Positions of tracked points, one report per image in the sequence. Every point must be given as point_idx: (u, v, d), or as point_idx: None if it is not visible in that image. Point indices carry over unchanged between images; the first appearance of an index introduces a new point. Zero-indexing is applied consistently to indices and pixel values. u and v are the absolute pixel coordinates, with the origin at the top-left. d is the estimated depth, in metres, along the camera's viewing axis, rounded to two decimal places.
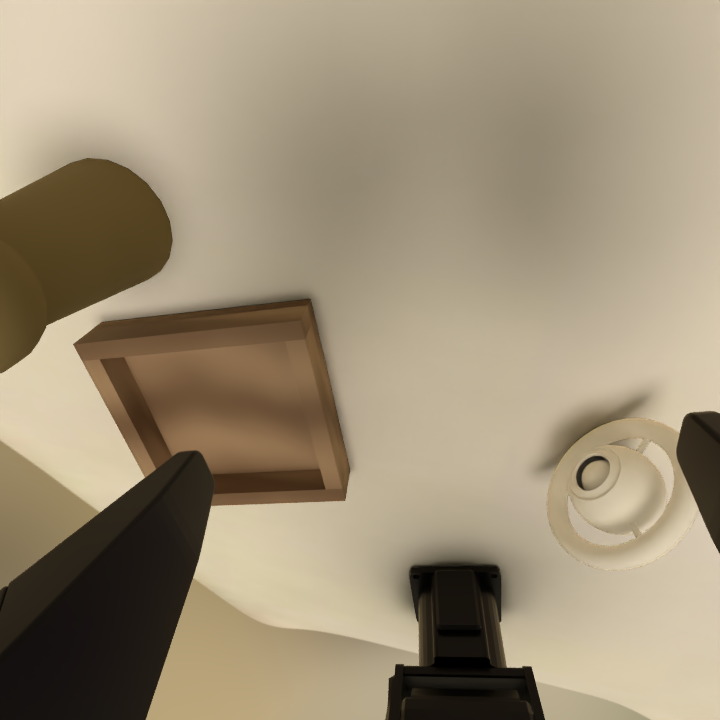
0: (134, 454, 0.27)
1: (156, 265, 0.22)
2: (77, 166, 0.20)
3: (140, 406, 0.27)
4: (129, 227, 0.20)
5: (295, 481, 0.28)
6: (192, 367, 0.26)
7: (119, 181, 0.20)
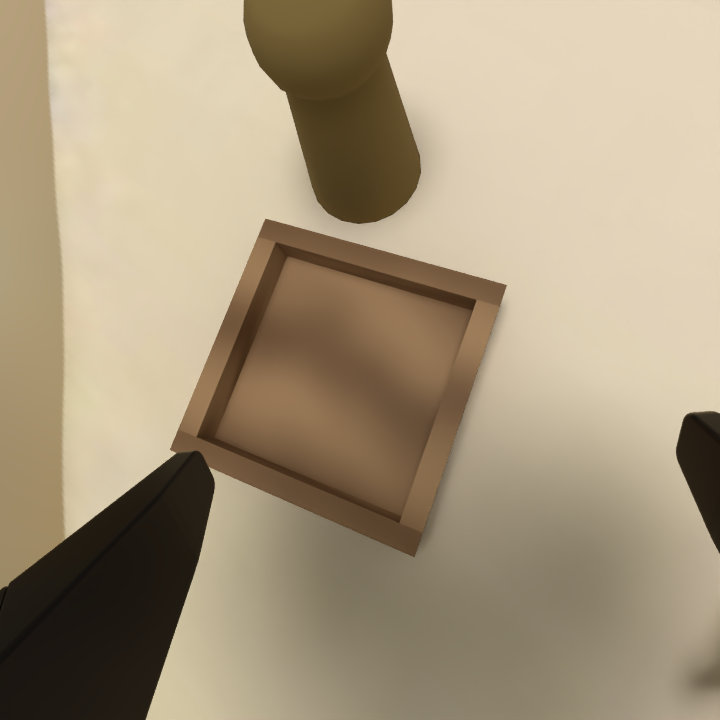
0: (209, 360, 0.22)
1: (385, 205, 0.23)
2: None
3: (255, 322, 0.23)
4: (408, 146, 0.22)
5: (357, 501, 0.20)
6: (339, 310, 0.23)
7: None
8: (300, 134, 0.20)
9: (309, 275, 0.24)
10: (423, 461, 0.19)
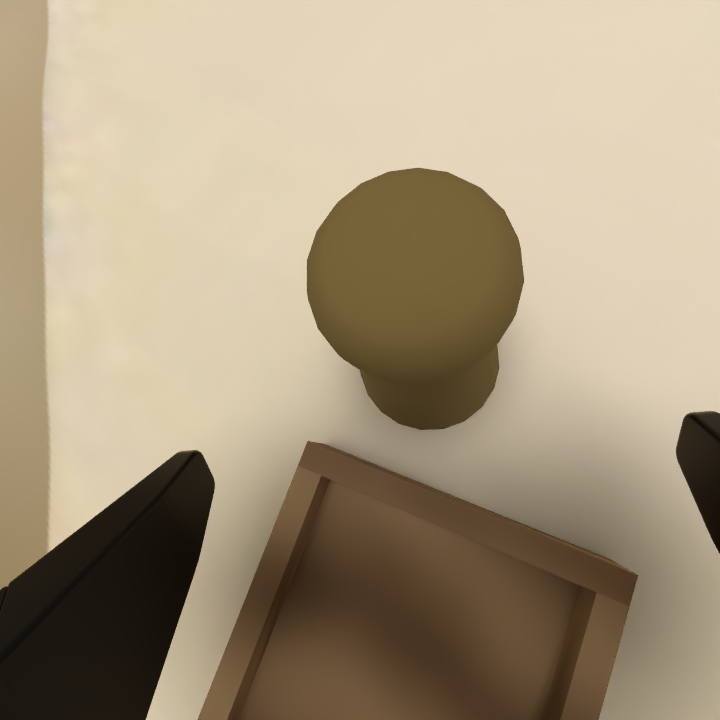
0: (233, 637, 0.17)
1: (458, 418, 0.19)
2: None
3: (292, 570, 0.18)
4: (494, 361, 0.17)
5: None
6: (400, 559, 0.18)
7: None
8: None
9: (360, 504, 0.19)
10: None
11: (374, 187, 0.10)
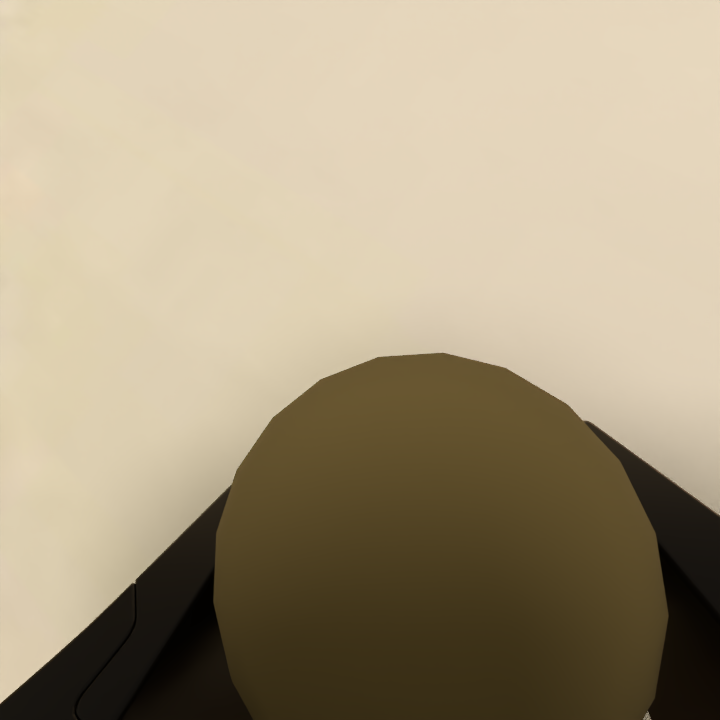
0: None
1: None
2: None
3: None
4: None
5: None
6: None
7: None
8: None
9: None
10: None
11: (345, 418, 0.05)
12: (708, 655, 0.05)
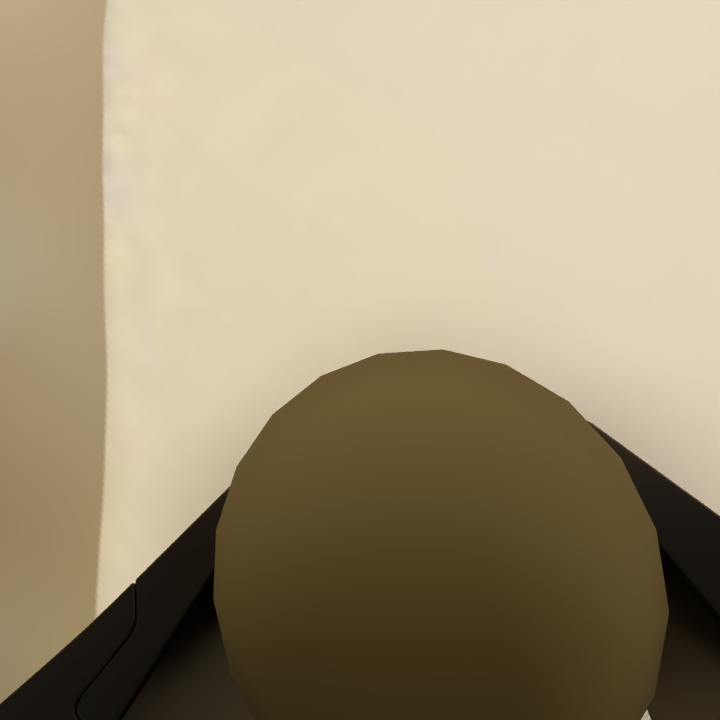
0: None
1: None
2: None
3: None
4: None
5: None
6: None
7: None
8: None
9: None
10: None
11: (345, 414, 0.05)
12: (707, 655, 0.05)
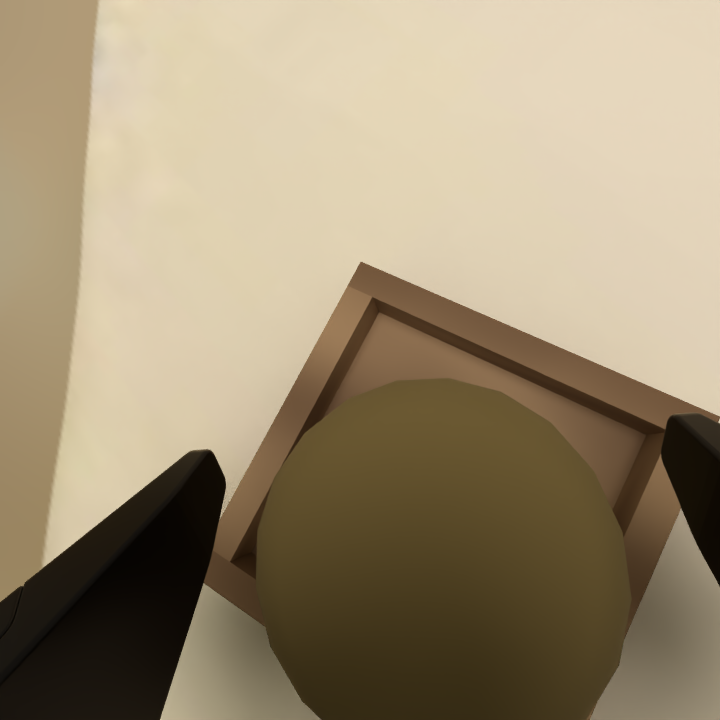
0: (260, 451, 0.16)
1: None
2: None
3: (327, 400, 0.17)
4: None
5: None
6: None
7: None
8: None
9: (407, 343, 0.17)
10: None
11: (369, 436, 0.06)
12: None
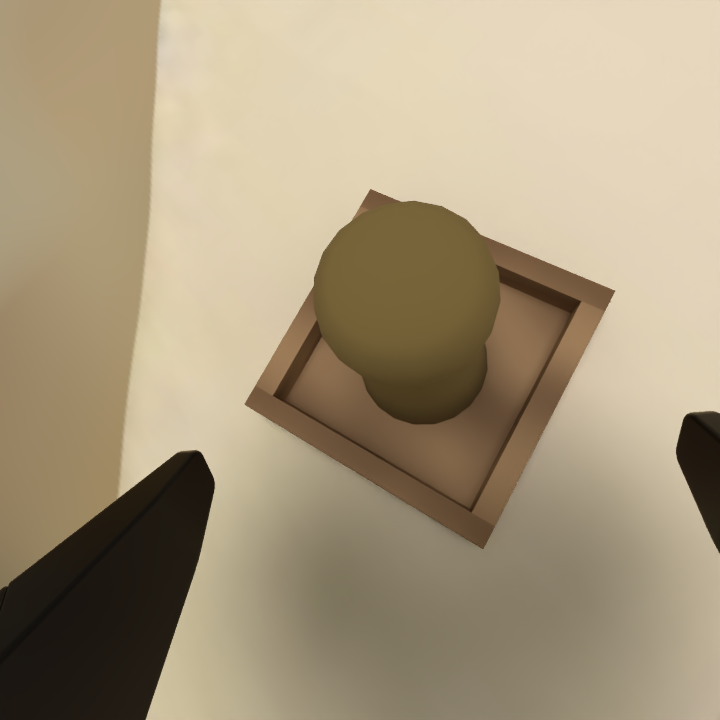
0: (295, 321, 0.22)
1: (447, 415, 0.20)
2: None
3: None
4: (481, 364, 0.19)
5: (428, 485, 0.20)
6: None
7: None
8: None
9: None
10: (504, 455, 0.19)
11: (373, 217, 0.12)
12: None
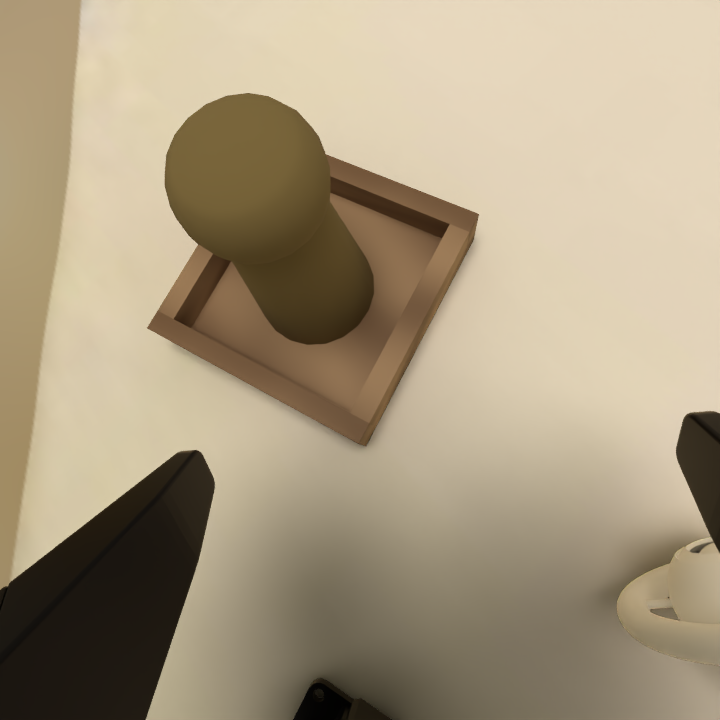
0: (196, 251, 0.23)
1: (334, 331, 0.22)
2: None
3: None
4: (357, 278, 0.21)
5: None
6: None
7: (363, 256, 0.22)
8: (239, 272, 0.19)
9: None
10: (379, 360, 0.21)
11: (212, 106, 0.14)
12: None
